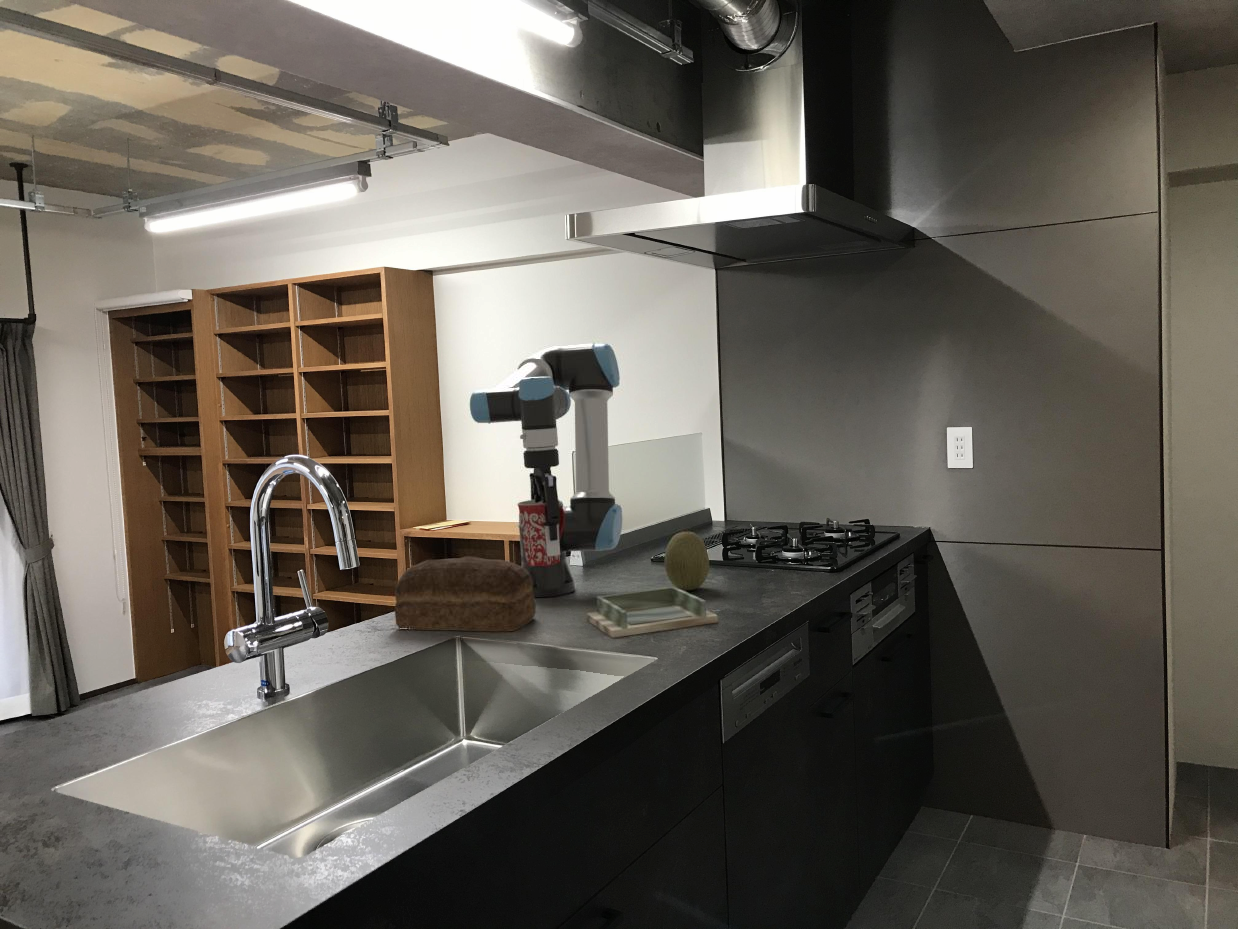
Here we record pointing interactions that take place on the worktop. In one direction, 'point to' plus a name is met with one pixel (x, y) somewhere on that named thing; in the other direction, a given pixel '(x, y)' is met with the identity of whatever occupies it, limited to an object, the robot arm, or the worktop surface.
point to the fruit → (686, 561)
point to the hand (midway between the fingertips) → (547, 552)
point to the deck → (649, 612)
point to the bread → (465, 595)
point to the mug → (537, 533)
